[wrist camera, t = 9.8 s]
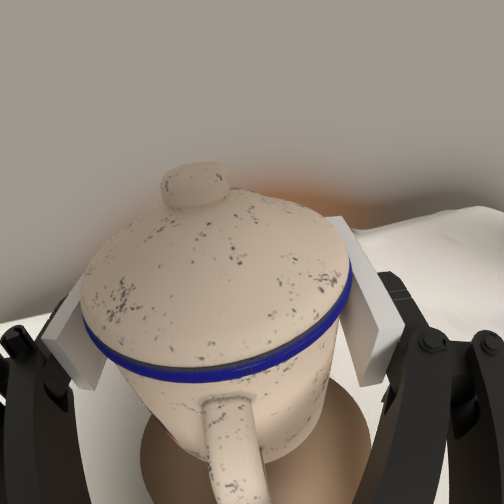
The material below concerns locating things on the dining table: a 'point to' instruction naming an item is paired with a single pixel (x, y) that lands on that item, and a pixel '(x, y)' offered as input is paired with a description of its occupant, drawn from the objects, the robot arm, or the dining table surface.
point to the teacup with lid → (222, 320)
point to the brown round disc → (278, 471)
